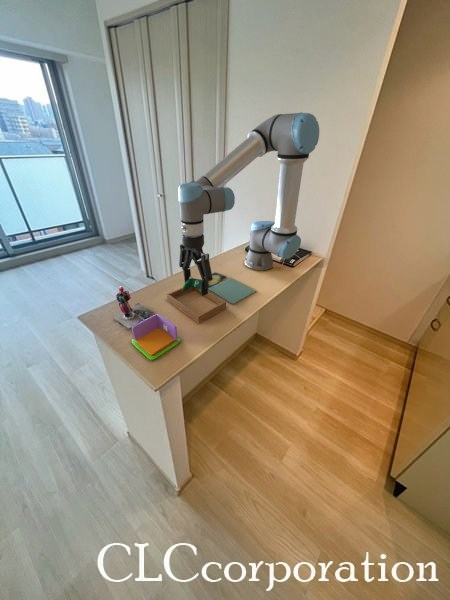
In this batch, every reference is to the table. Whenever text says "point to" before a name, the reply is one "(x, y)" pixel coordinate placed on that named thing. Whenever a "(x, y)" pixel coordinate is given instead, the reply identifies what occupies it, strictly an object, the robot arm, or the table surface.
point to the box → (190, 313)
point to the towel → (231, 290)
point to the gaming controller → (192, 283)
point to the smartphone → (216, 279)
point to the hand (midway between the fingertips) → (196, 289)
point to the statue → (130, 310)
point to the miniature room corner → (154, 336)
